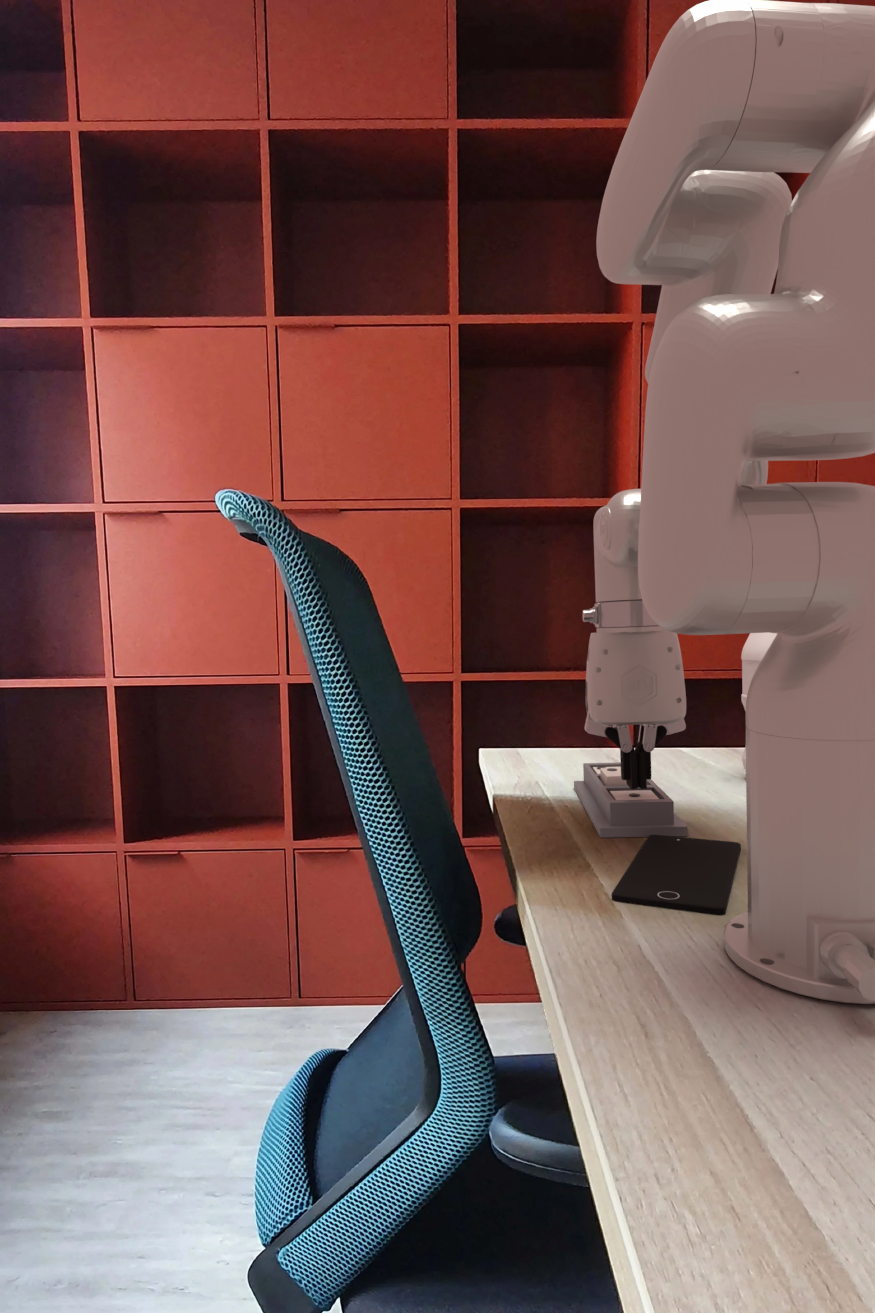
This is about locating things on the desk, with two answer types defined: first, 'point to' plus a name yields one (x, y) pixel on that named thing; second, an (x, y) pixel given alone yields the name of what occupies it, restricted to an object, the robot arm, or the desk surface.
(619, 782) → the tile two
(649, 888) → the cell phone
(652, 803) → the tile tray
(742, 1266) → the desk surface
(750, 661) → the water bottle
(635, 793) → the tile one
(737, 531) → the robot arm
